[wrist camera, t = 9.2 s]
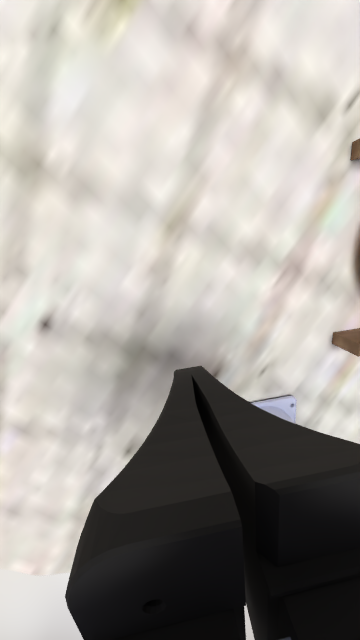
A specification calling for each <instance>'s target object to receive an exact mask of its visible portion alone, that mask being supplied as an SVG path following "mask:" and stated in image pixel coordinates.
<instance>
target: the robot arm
mask: <svg viewBox="0 0 360 640" xmlns="http://www.w3.org/2000/svg"><path fill="white" fill-rule="evenodd" d="M295 420H296V398H295V397H294V396H286V397H281V398H275V399H270V400H264V401H259V402H253V403H250V402H248V401H246V400H245V399H243V398H241V397H240V396H238V395H237V394H235V393H234V392H232V391H231V390H230V389H228V388H227V387H226V386H224V385H223V384H222V383H220V382H219V381H218V380H217V379H216V378H214V377H213V376H212V375H211V374H210V373H209V372H208V371H206V370H205V369H204V368H203V367H202V366H197V367H191V368H185V369H179V370H176V371H175V372H174V379H173V383H172V387H171V390H170V393H169V396H168V399H167V401H166V403H165V406H164V408H163V410H162V412H161V414H160V416H159V418H158V420H157V422H156V424H155V426H154V427H153V429H152V431H151V432H150V434H149V435H148V437H147V438H146V440H145V441H144V443H143V444H142V446H141V447H140V448H139V450H138V451H137V452H136V454H135V455H134V456H133V457H132V459H131V460H130V461H129V462H128V464H127V465H126V466H125V468H124V469H123V470H122V471H121V472H120V473H119V474H118V476H117V477H116V478H115V479H114V480H113V481H112V482H111V483H110V484H109V485H108V486H107V487H106V488H105V489H104V490H103V491H102V492H101V493H100V494H99V495H98V496H97V497H96V498H95V500H94V502H93V504H92V507H91V509H90V512H89V514H88V517H87V520H86V522H85V525H84V528H83V531H82V533H81V536H80V539H79V543H78V546H77V550H76V554H75V558H74V562H73V566H72V569H71V573H70V577H69V582H68V586H67V590H66V595H65V598H66V602H67V606H68V609H69V611H70V613H71V615H72V617H73V619H74V621H75V623H76V625H77V627H78V629H79V631H80V633H81V635H82V637H83V639H84V640H246V634H245V615H244V606H245V605H246V604H247V608H248V613H249V617H250V621H251V625H252V630H253V634H254V638H255V640H360V444H357V443H354V442H351V441H347V440H344V439H340V438H337V437H333V436H330V435H326V434H323V433H320V432H317V431H314V430H311V429H308V428H305V427H302V426H300V425H297V424H295Z"/></svg>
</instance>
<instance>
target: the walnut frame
mask: <svg viewBox="0 0 360 640" xmlns="http://www.w3.org/2000/svg"><path fill="white" fill-rule="evenodd" d="M357 159H360V139H358V140H356V141H354V142H353V144H352V153H351V160H357ZM332 344H334V345H336V346H338V347H340V348H342V349H344V350H346V351H348V352H350V353H352V354H354V355H356V356H360V328H359V329H353V330H347V331H341V332H334V333H333V341H332Z"/></svg>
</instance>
